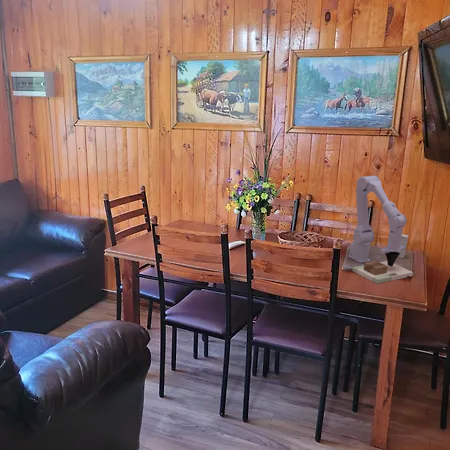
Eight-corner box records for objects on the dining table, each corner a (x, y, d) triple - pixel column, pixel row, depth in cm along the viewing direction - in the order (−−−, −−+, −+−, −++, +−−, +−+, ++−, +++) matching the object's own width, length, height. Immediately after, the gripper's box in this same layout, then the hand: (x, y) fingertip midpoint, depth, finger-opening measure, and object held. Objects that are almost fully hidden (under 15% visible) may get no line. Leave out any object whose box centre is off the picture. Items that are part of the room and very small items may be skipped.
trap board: (352, 271, 216) (352, 267, 215) (386, 264, 226) (387, 260, 226) (377, 283, 202) (377, 279, 202) (412, 276, 213) (413, 272, 212)
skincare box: (391, 256, 239) (395, 234, 235) (393, 253, 243) (396, 232, 239) (403, 258, 236) (407, 237, 232) (405, 256, 240) (408, 235, 236)
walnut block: (363, 269, 213) (364, 262, 212) (374, 267, 216) (375, 260, 215) (375, 275, 207) (376, 268, 206) (386, 273, 210) (387, 266, 209)
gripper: (390, 243, 205) (385, 270, 209) (411, 240, 211) (407, 266, 215) (378, 239, 211) (374, 265, 215) (400, 235, 217) (395, 261, 221)
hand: (390, 265), depth 216 cm, fingers closed
